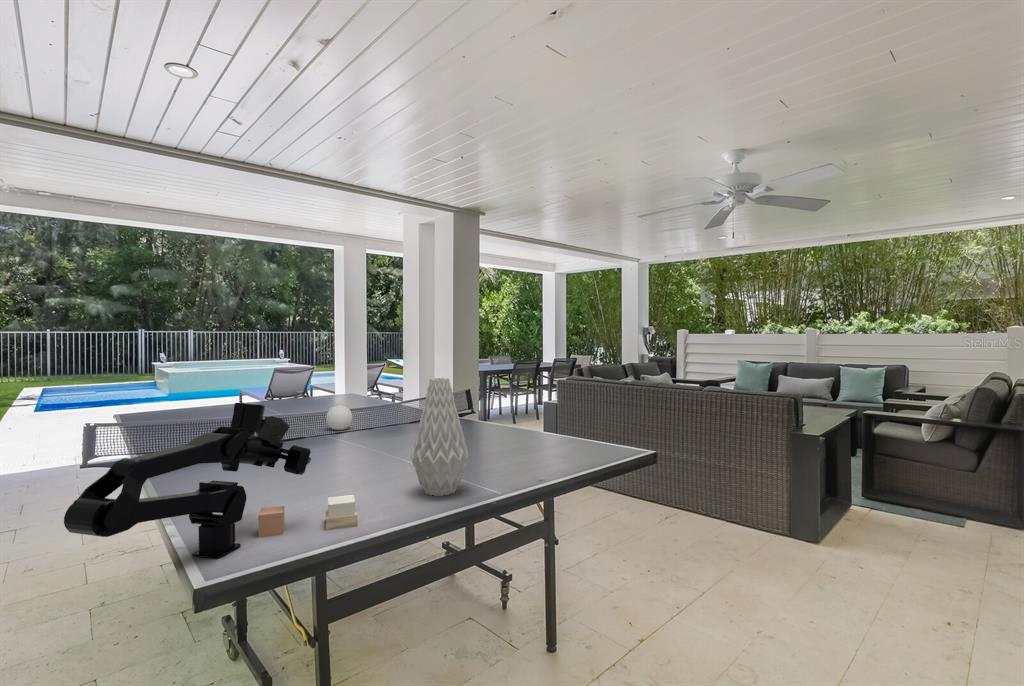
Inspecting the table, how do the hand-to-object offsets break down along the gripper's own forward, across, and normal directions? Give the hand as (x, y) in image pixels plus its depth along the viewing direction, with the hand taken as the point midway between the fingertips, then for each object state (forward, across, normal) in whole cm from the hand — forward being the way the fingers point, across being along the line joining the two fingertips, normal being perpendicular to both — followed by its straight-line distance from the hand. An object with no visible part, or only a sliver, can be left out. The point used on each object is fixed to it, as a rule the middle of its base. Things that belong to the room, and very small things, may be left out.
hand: (295, 456), depth 130 cm
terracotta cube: (-8, -6, +17) cm, 19 cm away
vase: (+28, -30, +2) cm, 41 cm away
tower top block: (0, -17, +10) cm, 20 cm away
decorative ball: (+106, +60, -9) cm, 122 cm away
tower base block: (+1, -18, +13) cm, 22 cm away
